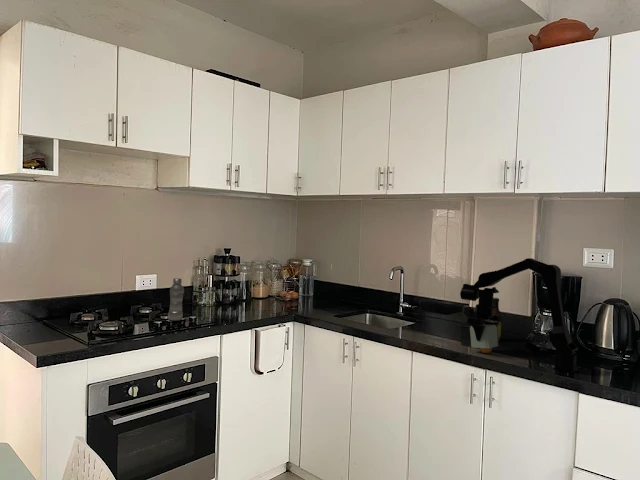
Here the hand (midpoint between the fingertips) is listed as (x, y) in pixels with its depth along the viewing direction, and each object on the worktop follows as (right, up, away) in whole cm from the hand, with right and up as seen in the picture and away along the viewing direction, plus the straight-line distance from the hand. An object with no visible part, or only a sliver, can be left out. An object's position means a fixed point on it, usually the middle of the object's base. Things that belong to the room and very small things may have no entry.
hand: (483, 339), depth 207 cm
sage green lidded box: (0, -3, -1) cm, 3 cm away
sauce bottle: (+13, -6, +27) cm, 30 cm away
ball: (+1, -3, -1) cm, 3 cm away
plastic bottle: (-137, +3, +27) cm, 140 cm away
